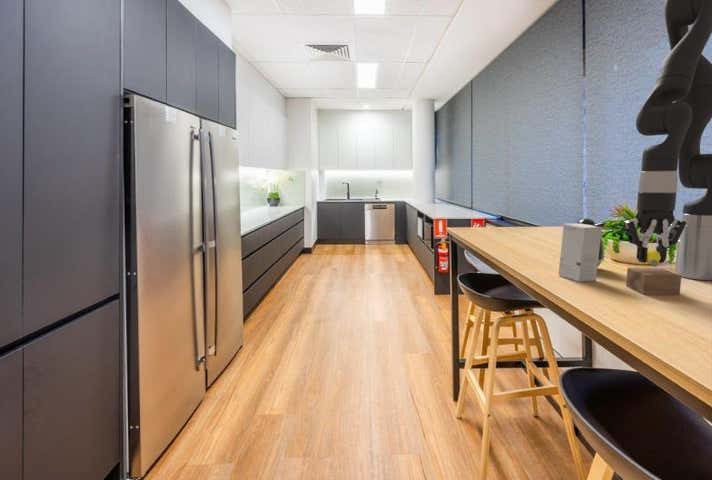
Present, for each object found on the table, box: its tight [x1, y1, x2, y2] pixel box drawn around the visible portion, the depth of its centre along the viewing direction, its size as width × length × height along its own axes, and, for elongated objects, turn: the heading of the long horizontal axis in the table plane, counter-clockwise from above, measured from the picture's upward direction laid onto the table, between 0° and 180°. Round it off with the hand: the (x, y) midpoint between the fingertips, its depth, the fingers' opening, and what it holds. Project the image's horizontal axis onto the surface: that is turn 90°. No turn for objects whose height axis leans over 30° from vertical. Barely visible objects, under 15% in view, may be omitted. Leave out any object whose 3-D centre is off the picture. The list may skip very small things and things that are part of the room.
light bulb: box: [646, 249, 661, 267], centre depth 105 cm, size 3×6×4 cm, turn 155°
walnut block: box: [625, 267, 682, 296], centre depth 106 cm, size 8×8×5 cm
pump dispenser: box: [576, 218, 606, 267], centre depth 132 cm, size 10×10×15 cm
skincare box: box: [558, 223, 603, 283], centre depth 119 cm, size 8×6×15 cm
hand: (650, 261), depth 106 cm, fingers closed on light bulb, 3 cm apart
